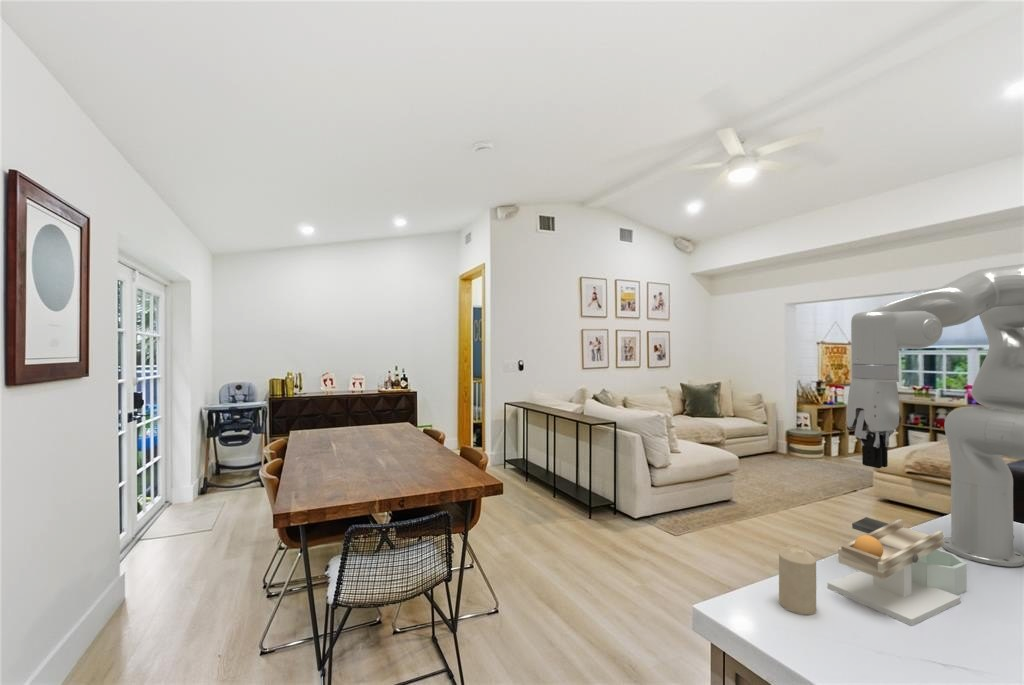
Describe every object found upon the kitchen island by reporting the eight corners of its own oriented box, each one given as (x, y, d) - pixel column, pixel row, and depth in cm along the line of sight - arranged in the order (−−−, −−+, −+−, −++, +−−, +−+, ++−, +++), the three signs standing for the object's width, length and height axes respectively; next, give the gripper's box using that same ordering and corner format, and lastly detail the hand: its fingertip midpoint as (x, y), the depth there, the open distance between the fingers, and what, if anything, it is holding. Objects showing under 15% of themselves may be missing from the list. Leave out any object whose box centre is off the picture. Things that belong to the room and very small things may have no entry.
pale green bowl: (909, 564, 96) (909, 539, 96) (974, 587, 87) (974, 560, 87) (881, 574, 92) (881, 549, 92) (947, 600, 83) (947, 571, 83)
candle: (822, 617, 78) (822, 556, 78) (785, 613, 79) (785, 553, 79) (808, 599, 83) (808, 542, 83) (774, 596, 84) (774, 540, 84)
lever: (868, 522, 97) (867, 507, 97) (945, 546, 86) (944, 528, 85) (807, 550, 88) (806, 533, 88) (884, 580, 77) (882, 561, 77)
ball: (863, 549, 84) (861, 528, 84) (889, 558, 81) (886, 536, 80) (851, 558, 83) (848, 536, 82) (876, 568, 79) (873, 545, 79)
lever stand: (876, 570, 94) (876, 536, 94) (960, 602, 82) (960, 563, 82) (827, 587, 87) (827, 551, 87) (911, 625, 75) (911, 583, 75)
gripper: (875, 371, 100) (875, 458, 100) (831, 373, 93) (831, 466, 93) (917, 373, 93) (918, 466, 93) (873, 375, 87) (874, 475, 87)
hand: (874, 465), depth 93 cm, fingers closed
